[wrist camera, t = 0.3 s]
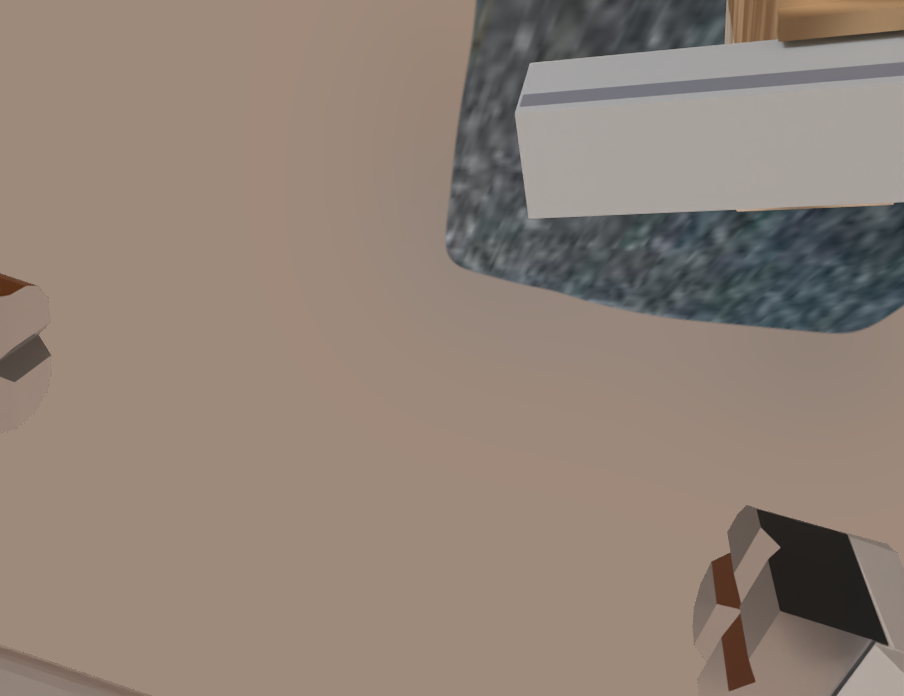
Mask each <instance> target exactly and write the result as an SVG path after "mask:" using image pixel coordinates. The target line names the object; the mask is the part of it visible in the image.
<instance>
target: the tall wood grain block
mask: <svg viewBox="0 0 904 696" xmlns="http://www.w3.org/2000/svg"><path fill="white" fill-rule="evenodd" d="M898 30H904V0H727V4H726V26H725V44H734V43H744V42H755V41H765V40H776V39H778V41H779V42H782V41H793V40H803V39H814V38H825V37H835V36H846V35H856V34H867V33H877V32H888V31H898ZM893 204H894V203H872V204H849V205H827V206H804V207H781V208H759V209H737V211H760V210H783V209H806V208H829V207H852V206H875V205H893Z"/></svg>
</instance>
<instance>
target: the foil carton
mask: <svg viewBox="0 0 904 696" xmlns="http://www.w3.org/2000/svg"><path fill="white" fill-rule="evenodd" d="M515 118H516V126H517V133H518V141H519V149H520V156H521V164H522V171H523V179H524V186H525V194H526V201H527V209H528V216H529V219H531V218H554V217H577V216H600V215H622V214H645V213H668V212H690V211H713V210H736V209H759V208H781V207H804V206H827V205H849V204H872V203H895V202H904V30H898V31H888V32H877V33H867V34H856V35H846V36H835V37H825V38H814V39H803V40H793V41H782V42H779V41H778V39H776V40H765V41H755V42H744V43H734V44H724V45H713V46H703V47H692V48H682V49H671V50H661V51H651V52H640V53H630V54H619V55H609V56H598V57H588V58H578V59H567V60H557V61H546V62H536V63H530V65H529V68H528V72H527V75H526V78H525V82H524V85H523V88H522V92H521V95H520V98H519V101H518V105H517V108H516V111H515Z"/></svg>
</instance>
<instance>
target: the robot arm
mask: <svg viewBox="0 0 904 696" xmlns="http://www.w3.org/2000/svg"><path fill="white" fill-rule="evenodd" d="M49 323H50V312H49V299H48V296H47V295H46V294H45V293H44V292H43V291H42V289H41V288H40V287H39V286H37V285H34V284H31V283H28V282H24V281H22V280H19V279H15V278H12V277H10V276H6V275H3V274H0V433H3V432H6V431H10V430H13V429H17V428H18V427H19V426H21V425H22V424H23V423H24V422H25V421H26V420H28V419H29V418H30V417H31V416H32V415H33V414H34V413H35V411H36V410H37V408H38V407H39V405H40V403H41V402H42V400H43V398H44V397H45V395H46V393H47V390H48V386H49V381H50V377H51V354H50V353H49V351H48V349H47V348H46V346H45V345H44V343H43V341H42V340H41V338H40V337H39V334H40V333H41V331H43V329H44V328H45V327H46V326H47V325H48V324H49ZM728 539H729V545H730V553H728V554H726V555H724V556H722V557H720V558H718V559H716V560H714V561H712V562H711V563H710V566H709V568H708V570H707V572H706V574H705V576H704V578H703V580H702V582H701V584H700V587H699V591H698V595H697V598H696V602H695V606H694V615H693V637H694V645H695V647H696V648H697V649H698V651H699V652H700V653H701V655H702V656H703V658H704V659H705V660H706V662H707V663H706V665H705V666H704V668H703V670H702V672H701V673H700V675H699V677H698V679H697V681H698V691H699V696H904V567H903V565H902V563H901V560H900V558H899V556H898V554H897V552H896V551H895V550H893V549H892V548H891V547H890V546H889V545H888V544H886V543H882V542H878V541H874V540H871V539H867V538H863V537H860V536H856V535H852V534H849V533H845V532H841V531H840V532H839V531H835V530H831V529H828V528H824V527H821V526H818V525H814V524H811V523H807V522H804V521H800V520H797V519H793V518H790V517H787V516H783V515H779V514H776V513H773V512H769V511H766V510H762V509H759V508H755V507H752V506H748V505H746V506H745V507H744V508H743V509H742V510H741V511H740V512H739V513H738V514H737V516H736V518H735V520H734V521H733V523H732V525H731V527H730V528H729V530H728ZM0 696H151V695H148V694H146V693H142V692H140V691H136V690H134V689H131V688H128V687H125V686H122V685H119V684H116V683H113V682H110V681H107V680H104V679H101V678H98V677H95V676H92V675H89V674H86V673H83V672H80V671H77V670H74V669H71V668H68V667H65V666H63V665H59V664H57V663H54V662H51V661H48V660H45V659H42V658H39V657H36V656H33V655H30V654H27V653H24V652H21V651H18V650H15V649H12V648H9V647H6V646H3V645H0Z"/></svg>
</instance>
